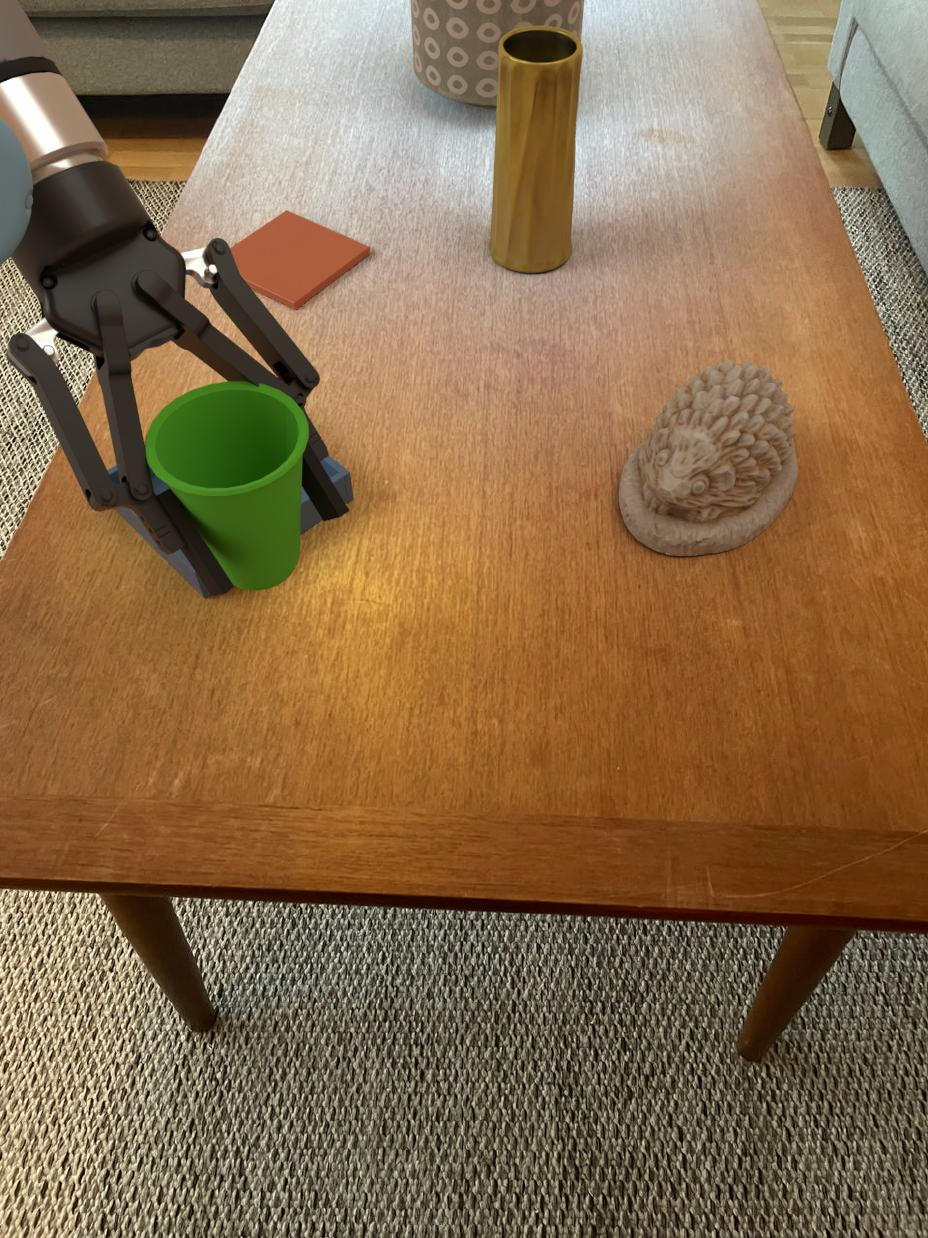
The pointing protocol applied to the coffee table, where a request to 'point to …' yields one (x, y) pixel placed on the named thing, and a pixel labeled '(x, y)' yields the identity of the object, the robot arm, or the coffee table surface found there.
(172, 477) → the cup
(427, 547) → the coffee table surface
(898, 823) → the coffee table surface
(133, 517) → the blue tray
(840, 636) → the coffee table surface
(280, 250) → the terracotta coaster
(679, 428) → the sculpture
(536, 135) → the vase
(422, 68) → the planter
